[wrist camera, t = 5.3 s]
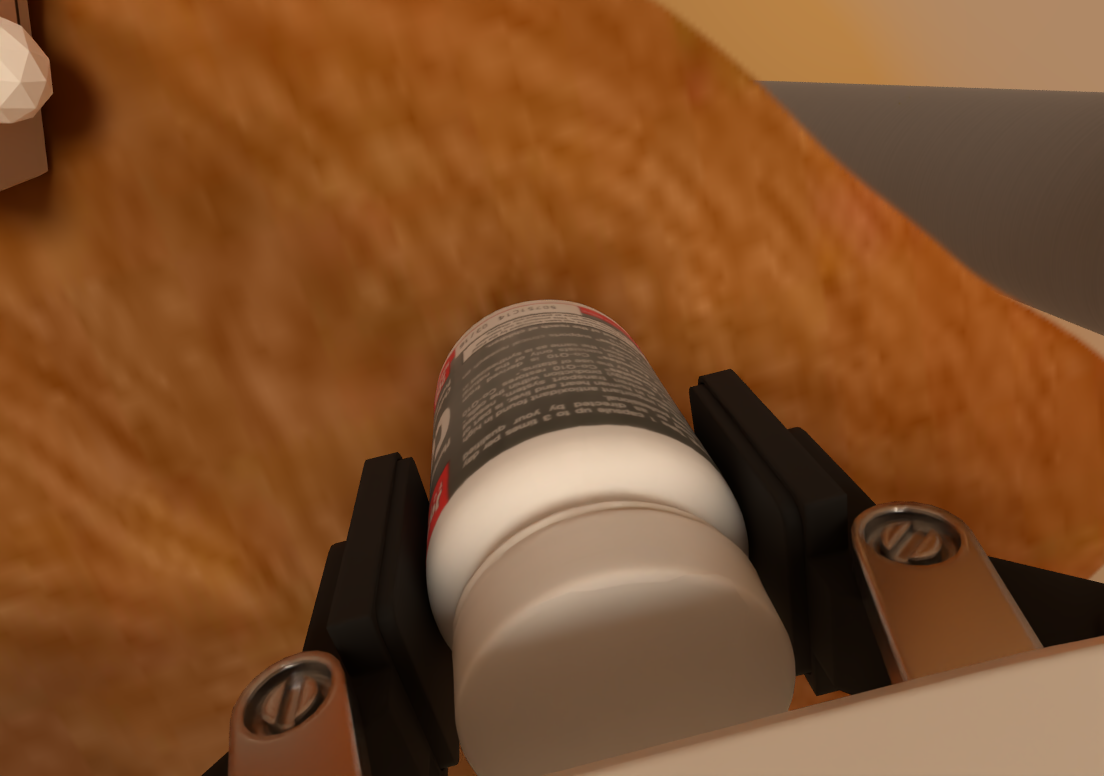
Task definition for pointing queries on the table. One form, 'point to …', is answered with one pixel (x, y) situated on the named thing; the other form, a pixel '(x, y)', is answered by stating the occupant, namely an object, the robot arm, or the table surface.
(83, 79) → the table surface
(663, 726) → the pill bottle
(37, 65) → the toy character
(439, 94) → the table surface
